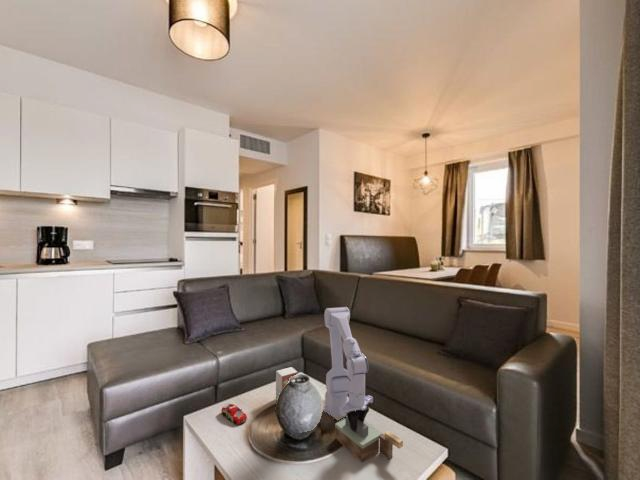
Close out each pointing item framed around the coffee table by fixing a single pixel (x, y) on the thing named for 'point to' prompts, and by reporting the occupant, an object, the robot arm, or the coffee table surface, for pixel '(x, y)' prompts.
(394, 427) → the coffee table surface
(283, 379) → the small box
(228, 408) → the race car
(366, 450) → the toolbox
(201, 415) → the coffee table surface
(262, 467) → the coffee table surface
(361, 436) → the toolbox lid
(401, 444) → the wooden block
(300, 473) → the coffee table surface
